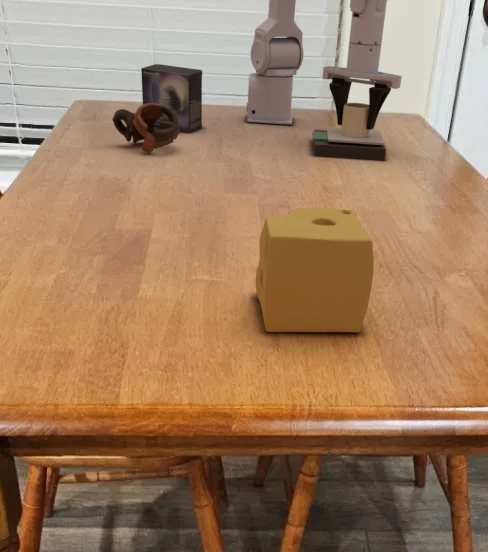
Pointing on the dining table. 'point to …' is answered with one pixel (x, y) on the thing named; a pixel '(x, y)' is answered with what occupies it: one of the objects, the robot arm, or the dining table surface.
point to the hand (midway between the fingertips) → (355, 126)
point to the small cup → (355, 120)
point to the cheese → (314, 271)
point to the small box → (174, 94)
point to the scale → (348, 145)
